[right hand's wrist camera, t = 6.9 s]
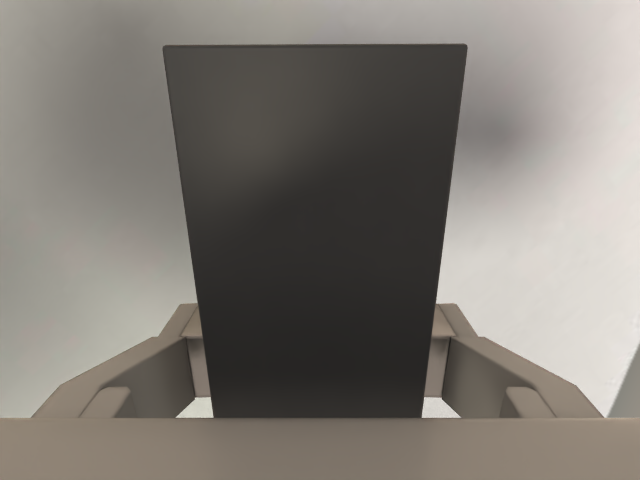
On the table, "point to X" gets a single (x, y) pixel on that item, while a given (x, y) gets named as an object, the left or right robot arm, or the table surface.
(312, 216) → the bar
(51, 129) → the table surface
